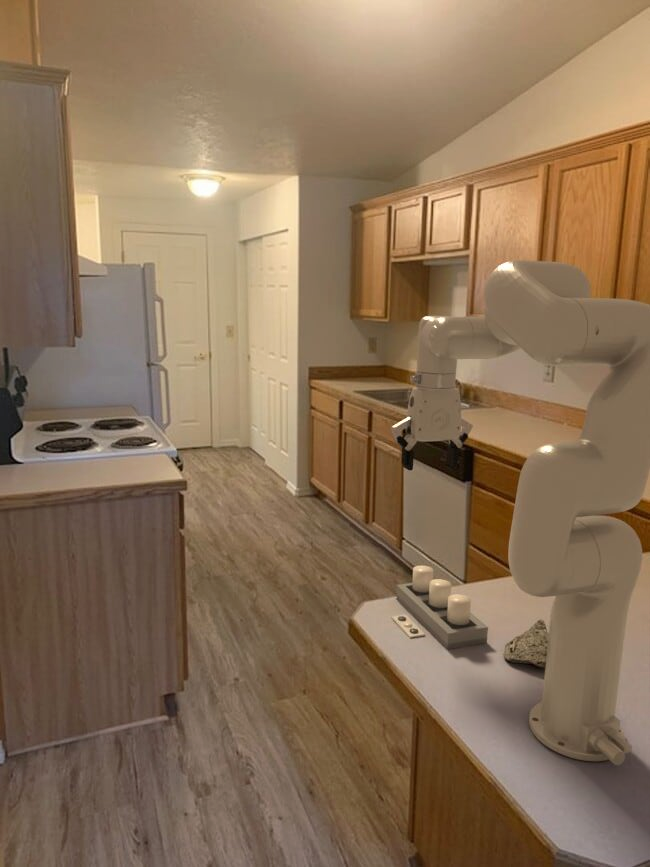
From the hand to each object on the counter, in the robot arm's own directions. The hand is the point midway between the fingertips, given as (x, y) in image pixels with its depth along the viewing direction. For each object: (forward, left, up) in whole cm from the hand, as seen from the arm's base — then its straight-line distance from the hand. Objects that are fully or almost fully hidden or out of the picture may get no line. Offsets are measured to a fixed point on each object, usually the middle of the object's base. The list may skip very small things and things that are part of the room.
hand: (429, 467), depth 128 cm
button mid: (-9, +1, -24) cm, 26 cm away
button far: (-2, +1, -24) cm, 25 cm away
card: (-10, +8, -28) cm, 31 cm away
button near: (-16, +1, -24) cm, 29 cm away
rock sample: (-27, -6, -28) cm, 39 cm away
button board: (-9, +1, -28) cm, 29 cm away
